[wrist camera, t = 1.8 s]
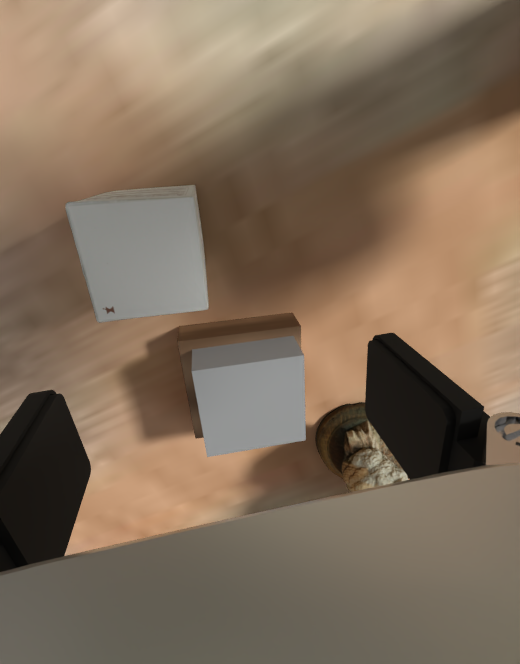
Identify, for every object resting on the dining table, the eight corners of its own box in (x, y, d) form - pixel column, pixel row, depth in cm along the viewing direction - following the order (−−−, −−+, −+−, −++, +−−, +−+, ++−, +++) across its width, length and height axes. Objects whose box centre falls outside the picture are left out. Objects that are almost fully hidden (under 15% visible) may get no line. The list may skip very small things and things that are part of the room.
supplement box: (206, 264, 35) (210, 314, 24) (128, 271, 34) (93, 326, 23) (197, 182, 32) (197, 194, 20) (110, 187, 31) (59, 203, 19)
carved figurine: (438, 444, 51) (539, 567, 36) (377, 495, 54) (447, 628, 39) (358, 382, 44) (443, 502, 29) (293, 444, 47) (338, 583, 32)
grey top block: (192, 349, 35) (191, 371, 31) (293, 335, 36) (303, 355, 32) (206, 429, 39) (207, 456, 35) (296, 415, 40) (305, 440, 36)
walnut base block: (179, 324, 38) (177, 341, 34) (291, 310, 39) (300, 326, 35) (195, 415, 43) (195, 438, 39) (293, 400, 44) (302, 421, 41)
